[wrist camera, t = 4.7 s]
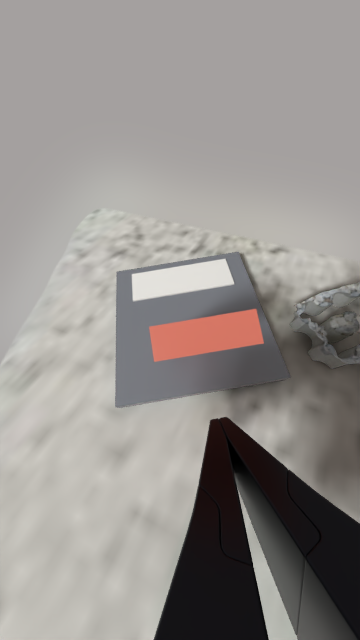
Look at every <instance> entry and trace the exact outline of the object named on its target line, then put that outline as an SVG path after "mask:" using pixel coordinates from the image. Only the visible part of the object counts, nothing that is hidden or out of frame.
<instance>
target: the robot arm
mask: <svg viewBox="0 0 360 640" xmlns="http://www.w3.org/2000/svg"><path fill="white" fill-rule="evenodd" d="M237 487H238V490H239V492H240V495H241V497H242V500H243V502H244V505H245V507H246V510H247V512H248V515H249V517H250V520H251V522H252V525H253V528H254V530H255V533H256V535H257V538H258V540H259V543H260V545H261V548H262V550H263V553H264V555H265V558H266V560H267V563H268V566H269V568H270V571H271V573H272V576H273V578H274V581H275V583H276V586H277V588H278V591H279V593H280V596H281V598H282V601H283V603H284V606H285V609H286V611H287V614H288V616H289V619H290V621H291V624H292V626H293V629H294V631H295V634H296V635H297V639H298V640H360V524H359V523H358V522H357V521H355V520H354V519H353V518H351V517H350V516H348V515H347V514H346V513H344V512H343V511H342V510H340V509H339V508H337V507H336V506H335V505H333V504H332V503H331V502H329V501H328V500H327V499H325V498H324V497H323V496H321V495H320V494H319V493H317V492H316V491H315V490H313V489H312V488H311V487H310V486H308V485H307V484H306V483H305V482H303V481H302V480H301V479H300V478H299V477H297V476H296V475H295V474H294V473H293V472H291V471H290V470H288V469H287V468H286V467H285V466H284V465H283V464H282V463H280V462H279V461H278V460H277V459H276V458H275V457H273V456H272V455H271V454H270V453H269V452H268V451H266V450H265V449H264V448H263V447H262V446H260V445H259V444H258V443H257V442H256V441H255V440H253V439H252V438H251V437H250V436H249V435H248V434H246V433H245V432H244V431H243V430H242V429H240V428H239V427H238V426H237V425H236V424H235V423H233V422H232V421H231V420H230V419H229V418H227V417H223V418H220V419H212V420H211V421H210V425H209V431H208V436H207V441H206V447H205V452H204V458H203V463H202V468H201V474H200V479H199V486H198V489H197V494H196V499H195V504H194V508H193V513H192V516H191V520H190V523H189V527H188V531H187V534H186V537H185V540H184V543H183V547H182V550H181V553H180V556H179V560H178V563H177V566H176V569H175V573H174V576H173V579H172V582H171V585H170V589H169V592H168V595H167V598H166V602H165V605H164V608H163V611H162V615H161V618H160V621H159V624H158V628H157V631H156V634H155V637H154V640H269V639H268V634H267V630H266V625H265V620H264V615H263V610H262V605H261V601H260V596H259V591H258V586H257V581H256V576H255V572H254V568H253V562H252V557H251V552H250V548H249V543H248V538H247V533H246V528H245V523H244V519H243V514H242V509H241V504H240V499H239V494H238V490H237Z"/></svg>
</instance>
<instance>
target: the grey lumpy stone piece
mask: <svg viewBox="0 0 360 640" xmlns="http://www.w3.org/2000/svg"><path fill="white" fill-rule="evenodd" d="M357 298H360V282H358V283H355V284H351V285H345V286H342V287H340V288H337V289H333V290H330V291H325V292H322V293H320V294H317V295H315V296H313V297H311V298H309V299H307V300H305V301H303V302H301V303H298V304H296V305H294V306H296V307H297V311H296V312H295V313H294V316H295V319H294V321H293V322H292V323H291V324H290V326H291V328H292V329H293V331H294V332H303V333H305V334H307V335H308V336H309V337H310V338H311V340H312V347H311V349H310V350H309V351H308V354H309V356H310V357H311V359H312V360H313V361H321V362H324V363H325V364H327V365H328V366H329V367H330V368H331V369H333V368H337V367H340V366H343V365H346V364H358V363H360V344H359V345H358V346H356V347H353V348H351V349H348V350H346V351H344V352H341V353H340V354H339V356H338V355H337V353H336V351H335V349H334V347H333V346H332V345H331V344H327V342H331V343H335V342H338V341H340V340H342V339H345V338H347V337H349V336H351V335H353V334H354V333H355V332H357V333H360V316H359V315H356V313H354V312H344V313H342V314H338V315H333V316H332V317H330V318H329V319H328V320H326V321H325V322H323V323H322V324H321V325H319V326H318V324H317V323H316V322H311V319H310V318H305V319H302V318H301V317H300V315H301V314H302V313H303V312H304V313H306V314H308V315H310V316H316V315H318V314H320V313H322V312H323V311H324V310H326V309H327V308H328V307H329V306H331V305H332V306H335V307H339V308H341V307H345V306H346V305H348V304H349V303H351V302H352V301H354V300H355V299H357Z"/></svg>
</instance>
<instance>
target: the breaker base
mask: <svg viewBox="0 0 360 640" xmlns="http://www.w3.org/2000/svg"><path fill="white" fill-rule="evenodd" d="M252 309H257V314H258V318H259V323H260V327H261V332H262V336H263V341H264V343H263V344H257V345H251V346H245V347H239V348H233V349H228V350H222V351H216V352H210V353H204V354H198V355H192V356H186V357H180V358H174V359H168V360H162V361H157V362H154V357H153V350H152V343H151V337H150V330H149V327H150V326H156V325H162V324H168V323H174V322H180V321H186V320H192V319H198V318H204V317H210V316H216V315H222V314H228V313H234V312H240V311H246V310H252ZM288 378H291V377H290V374H289V372H288V370H287V367H286V365H285V362H284V360H283V358H282V355H281V353H280V350H279V348H278V346H277V343H276V341H275V338H274V336H273V334H272V331H271V329H270V326H269V324H268V322H267V319H266V317H265V314H264V312H263V310H262V307H261V305H260V302H259V300H258V298H257V295H256V293H255V290H254V288H253V286H252V283H251V281H250V278H249V276H248V274H247V271H246V269H245V267H244V264H243V262H242V259H241V257H240V255H239V252H234V253H228V254H222V255H216V256H210V257H203V258H197V259H191V260H185V261H179V262H173V263H167V264H161V265H155V266H149V267H143V268H137V269H131V270H125V271H119V272H117V293H116V396H115V407H119V408H122V407H128V406H134V405H140V404H146V403H151V402H157V401H163V400H169V399H175V398H181V397H187V396H193V395H198V394H204V393H210V392H216V391H222V390H228V389H234V388H239V387H245V386H251V385H257V384H263V383H269V382H275V381H281V380H285V379H288Z"/></svg>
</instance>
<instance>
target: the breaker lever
mask: <svg viewBox="0 0 360 640" xmlns="http://www.w3.org/2000/svg"><path fill="white" fill-rule="evenodd" d="M149 330H150V337H151V343H152V350H153V357H154V362H157V361H162V360H168V359H174V358H180V357H186V356H192V355H198V354H204V353H210V352H216V351H222V350H228V349H233V348H239V347H245V346H251V345H257V344H263V343H264V341H263V336H262V332H261V327H260V323H259V318H258V314H257V309H252V310H246V311H240V312H234V313H228V314H222V315H216V316H210V317H204V318H198V319H192V320H186V321H180V322H174V323H168V324H162V325H156V326H150V327H149Z"/></svg>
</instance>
